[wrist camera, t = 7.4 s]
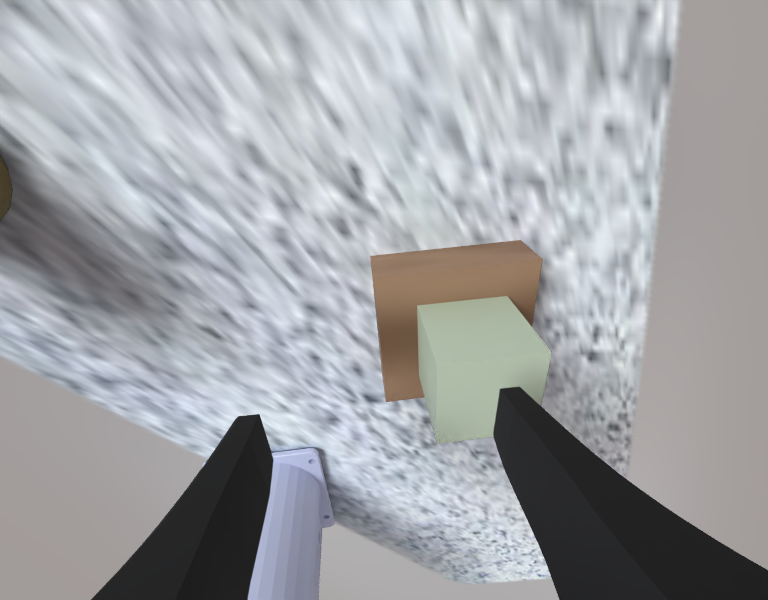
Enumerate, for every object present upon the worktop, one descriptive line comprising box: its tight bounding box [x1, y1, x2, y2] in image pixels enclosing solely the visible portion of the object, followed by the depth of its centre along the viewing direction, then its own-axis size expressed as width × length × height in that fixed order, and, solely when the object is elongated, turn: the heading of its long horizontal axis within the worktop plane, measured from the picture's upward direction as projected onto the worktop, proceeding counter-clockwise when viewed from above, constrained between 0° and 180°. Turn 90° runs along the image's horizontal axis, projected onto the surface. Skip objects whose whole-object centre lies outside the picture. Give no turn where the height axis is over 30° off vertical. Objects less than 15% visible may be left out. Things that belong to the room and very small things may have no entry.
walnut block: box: [370, 240, 542, 402], centre depth 20 cm, size 8×8×3 cm
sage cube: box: [417, 296, 552, 444], centre depth 17 cm, size 4×4×4 cm
